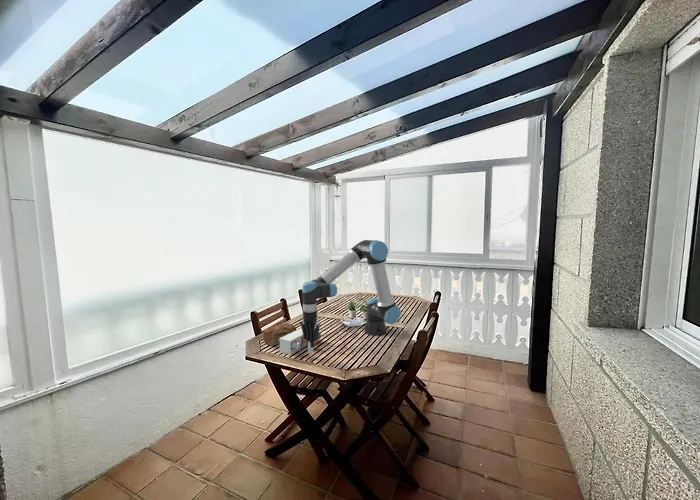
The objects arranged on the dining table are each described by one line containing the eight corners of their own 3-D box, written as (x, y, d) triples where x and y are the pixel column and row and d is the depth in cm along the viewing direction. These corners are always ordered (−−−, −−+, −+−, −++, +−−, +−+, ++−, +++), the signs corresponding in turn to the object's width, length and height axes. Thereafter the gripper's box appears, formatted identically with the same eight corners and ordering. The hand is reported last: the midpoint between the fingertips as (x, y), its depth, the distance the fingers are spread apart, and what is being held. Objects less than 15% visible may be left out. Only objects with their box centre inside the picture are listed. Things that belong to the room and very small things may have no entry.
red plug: (316, 344, 170) (316, 337, 170) (311, 347, 166) (311, 339, 166) (301, 341, 176) (301, 333, 175) (296, 343, 172) (296, 336, 171)
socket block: (315, 340, 183) (315, 327, 182) (290, 354, 162) (290, 341, 161) (305, 337, 187) (305, 325, 186) (279, 351, 166) (279, 338, 165)
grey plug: (321, 338, 180) (320, 331, 179) (316, 341, 176) (316, 333, 175) (306, 335, 185) (306, 328, 185) (302, 337, 181) (302, 330, 181)
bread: (272, 347, 172) (271, 331, 171) (262, 342, 179) (262, 327, 178) (297, 338, 186) (297, 323, 185) (287, 334, 193) (287, 320, 192)
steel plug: (302, 349, 164) (302, 341, 164) (297, 352, 160) (297, 344, 160) (287, 345, 169) (287, 337, 169) (282, 348, 165) (282, 340, 165)
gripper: (323, 310, 157) (324, 352, 158) (305, 307, 163) (305, 347, 165) (315, 314, 150) (316, 357, 152) (296, 310, 157) (297, 352, 159)
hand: (310, 352), depth 158 cm, fingers closed
